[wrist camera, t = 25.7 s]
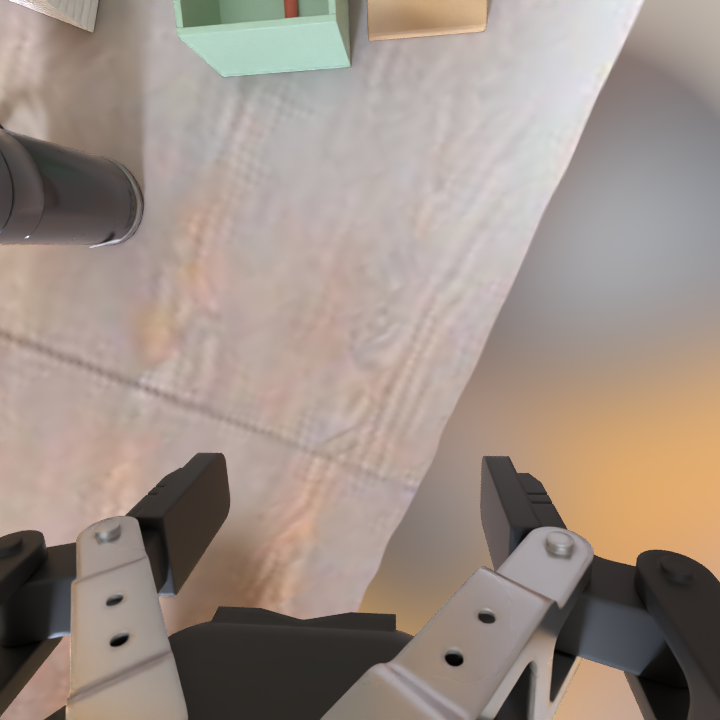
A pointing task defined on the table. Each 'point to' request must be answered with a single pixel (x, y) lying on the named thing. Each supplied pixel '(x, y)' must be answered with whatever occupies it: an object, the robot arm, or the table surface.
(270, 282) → the table surface
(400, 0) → the stand
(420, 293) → the table surface
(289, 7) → the straw
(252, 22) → the bin
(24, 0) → the stack of papers
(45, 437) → the table surface
